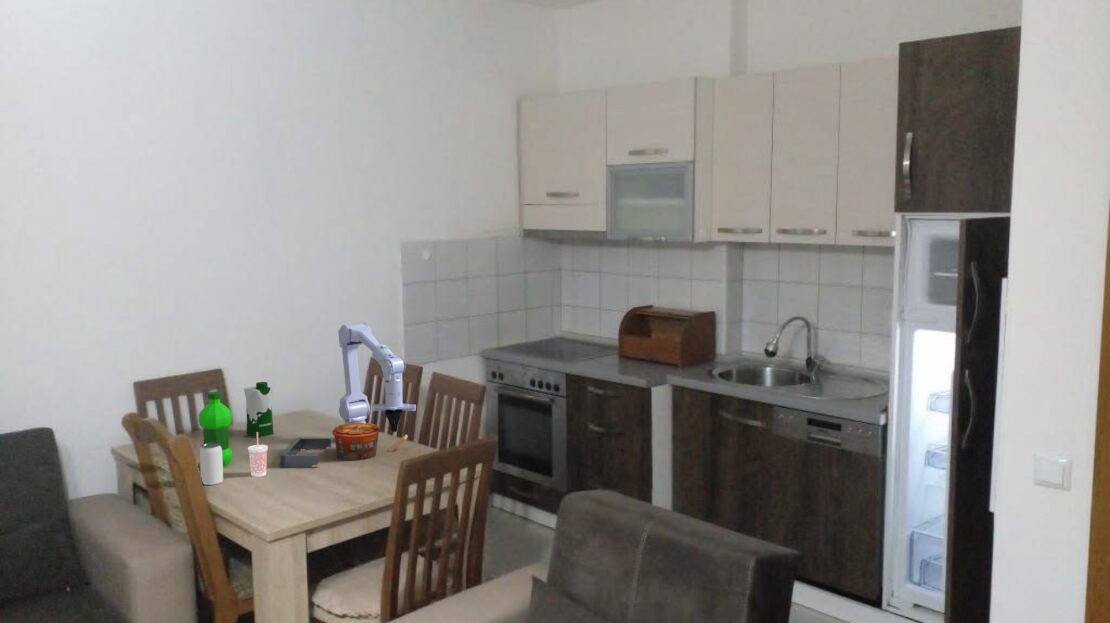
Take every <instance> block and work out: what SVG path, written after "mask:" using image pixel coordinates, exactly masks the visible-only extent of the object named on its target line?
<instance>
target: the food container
mask: <svg viewBox="0 0 1110 623" xmlns="http://www.w3.org/2000/svg"><path fill="white" fill-rule="evenodd" d="M380 432H381V428H380V427H379V426H378V425H377V424H374V423H371V422H366V424H365V423H351V424H345V423H343V424H340V425H338V426H336V427H334V429H333V430H332V432H331V433H332V435H333V437H334V442H335V449H336V457H337V459H340V460H342V461H347V462H352V461H353V462H357V461H365V460H369V459H373V458H375V457H376V456H377V449H378V442H379V441H378V439H379V433H380Z"/></svg>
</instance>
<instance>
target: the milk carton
mask: <svg viewBox="0 0 1110 623" xmlns="http://www.w3.org/2000/svg"><path fill="white" fill-rule="evenodd" d="M273 391H274V387H272V386H269V385H268V381H259V382H258V381H257V382H256V383H255V385H254V386H249V387H244V388H243V392H244V397H245V405H246V407H245V408H246V409H245V410H246V430H245V431H246V434H248V435H247V436H250V435H251V436H250V437H253V436H255V437H254V438H257V432H258V437H259V438H261V436H263V437H266V435H267V436H271V435H274V423H273V422H274V421H273ZM246 434H245V435H246ZM270 434H271V435H270Z"/></svg>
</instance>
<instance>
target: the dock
mask: <svg viewBox="0 0 1110 623" xmlns="http://www.w3.org/2000/svg"><path fill="white" fill-rule="evenodd" d="M332 442H333V441H332V437H297V438H295V440H294V441H293V442H292V443H290V445H289V446H288V447H287V448H286V449H285V450H283V452H282V453H281V454H280V455H279V460H280V462H279V464H280V466H279V467H280V469H282V468H287V469H289V468H292V469H294V468H295V469H296V468H297V469H299V468H301V469H302V468H303V469H304V468H306V469H307V468H309V469H310V468H311V469H312V468H314V469H315V468H316V469H317V468H318V466H317V465H319V454H299V453H300V451H310V450H309V449H325V450H326V449H327V448H332V444H333V443H332ZM301 449H302V450H301ZM303 449H305V450H303ZM298 452H299V453H298ZM297 453H298V454H297ZM296 454H297V455H296ZM293 467H294V468H293Z"/></svg>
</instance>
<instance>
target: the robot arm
mask: <svg viewBox="0 0 1110 623" xmlns="http://www.w3.org/2000/svg"><path fill="white" fill-rule="evenodd" d="M337 333H338V343H339V347H340V348H341V353H342V354H341V355H342V362H343V363H342V365H343V376H344V383H345V384H344V385H345V394H344V395H343V396H342V397H341V398H340V399H339V409H338V411H339V412H338V413H339V415H340V418H341V419H342V420H343V421H344V424H351V423H365V424H367V422H366V419H368V417H369V414H370V413H371V410H372V412H376V411H377V412H379V411H381V412H383V411H385V413H384V414H385V417H386V418H387V421H388V423H389V426H390V430H391V433H398V432H397V431H398V428H399V422H400V420H401V417H402V415H403V412H405V411H406V412H416V409H417V405H416V404H413V403H412V404H411V403H410V404H409V403H404V402H403V399H404V398H403V374H404V373H405V372H406V368H407V367H406V366H407V365H406V361H405V359H404V358H403V356H400V355H399V356H398V355H395V354H394V353H393V352H392V351H391V350H390V349H389V348H388V346H387V345H386V344H380V343H379V341H378V340H377V339H376V338H375V336H374V335H373V333H372V327H371V326H369V324H368V323H366V322H361V323H353V324H352V323H351V324H342V325H341V326H340V328H339V330H338V332H337ZM361 345H364V346H366V348H368V349H369V350H370V351H371V352H372V353H371V354H372V355H371V356H372V358H373V359H374V360H375V361H376V362H377V363H378V364H379V365H380V366H381V371H382V374H383V379H384V383H385V384H384V386H385V387H384V389H385V403H379V404H378V403H376V404H372V406H370V403H369V400H368V396H367V395H366V394H364V393H363V392H362V390H361V389H362V388H361V380H360V379H361V378H360V369H359V359H358V348H359V347H360V346H361ZM371 407H372V408H371Z"/></svg>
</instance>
